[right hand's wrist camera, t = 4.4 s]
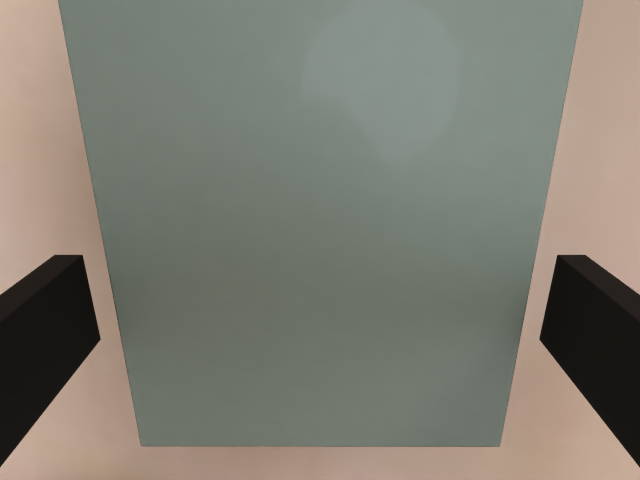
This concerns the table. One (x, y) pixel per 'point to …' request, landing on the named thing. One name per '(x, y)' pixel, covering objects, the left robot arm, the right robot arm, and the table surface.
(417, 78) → the cabinet
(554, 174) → the table surface
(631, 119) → the table surface
